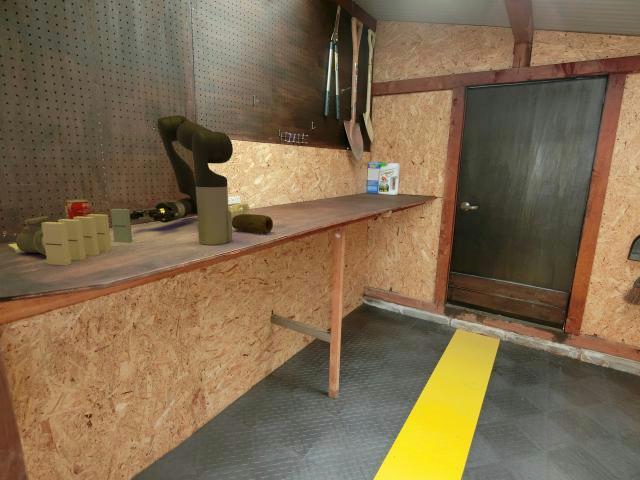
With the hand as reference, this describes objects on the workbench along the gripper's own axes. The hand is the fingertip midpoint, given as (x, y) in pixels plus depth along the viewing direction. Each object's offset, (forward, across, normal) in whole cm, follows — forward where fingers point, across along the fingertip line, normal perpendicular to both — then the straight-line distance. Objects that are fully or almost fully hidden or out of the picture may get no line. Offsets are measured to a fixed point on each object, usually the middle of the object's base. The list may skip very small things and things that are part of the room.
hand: (142, 217), depth 119 cm
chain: (-35, +14, +6) cm, 39 cm away
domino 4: (+22, +2, +6) cm, 22 cm away
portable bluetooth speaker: (-14, +33, +6) cm, 36 cm away
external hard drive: (+21, -18, +7) cm, 29 cm away
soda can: (+9, -16, +6) cm, 19 cm away
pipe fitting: (+28, -10, +6) cm, 30 cm away
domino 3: (+26, +2, +6) cm, 27 cm away
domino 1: (+35, +2, +6) cm, 36 cm away
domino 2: (+30, +2, +6) cm, 31 cm away
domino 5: (+10, 0, +6) cm, 12 cm away
